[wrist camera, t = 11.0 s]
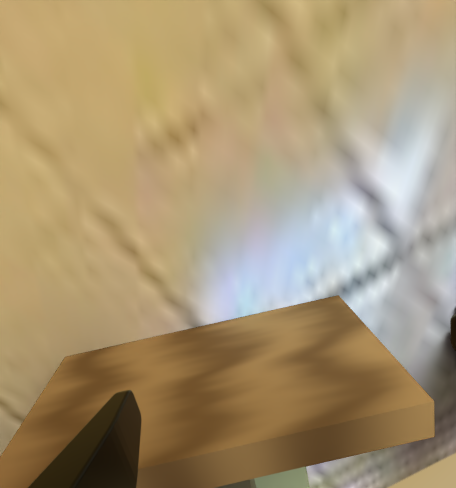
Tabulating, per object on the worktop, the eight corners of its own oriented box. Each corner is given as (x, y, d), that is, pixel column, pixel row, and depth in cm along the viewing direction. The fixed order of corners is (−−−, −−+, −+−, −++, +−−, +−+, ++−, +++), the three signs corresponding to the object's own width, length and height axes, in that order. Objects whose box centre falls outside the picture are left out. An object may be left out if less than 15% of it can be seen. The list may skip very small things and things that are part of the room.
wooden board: (338, 295, 23) (434, 401, 14) (347, 370, 25) (435, 508, 16) (65, 356, 23) (-34, 508, 13) (95, 427, 25) (29, 602, 15)
